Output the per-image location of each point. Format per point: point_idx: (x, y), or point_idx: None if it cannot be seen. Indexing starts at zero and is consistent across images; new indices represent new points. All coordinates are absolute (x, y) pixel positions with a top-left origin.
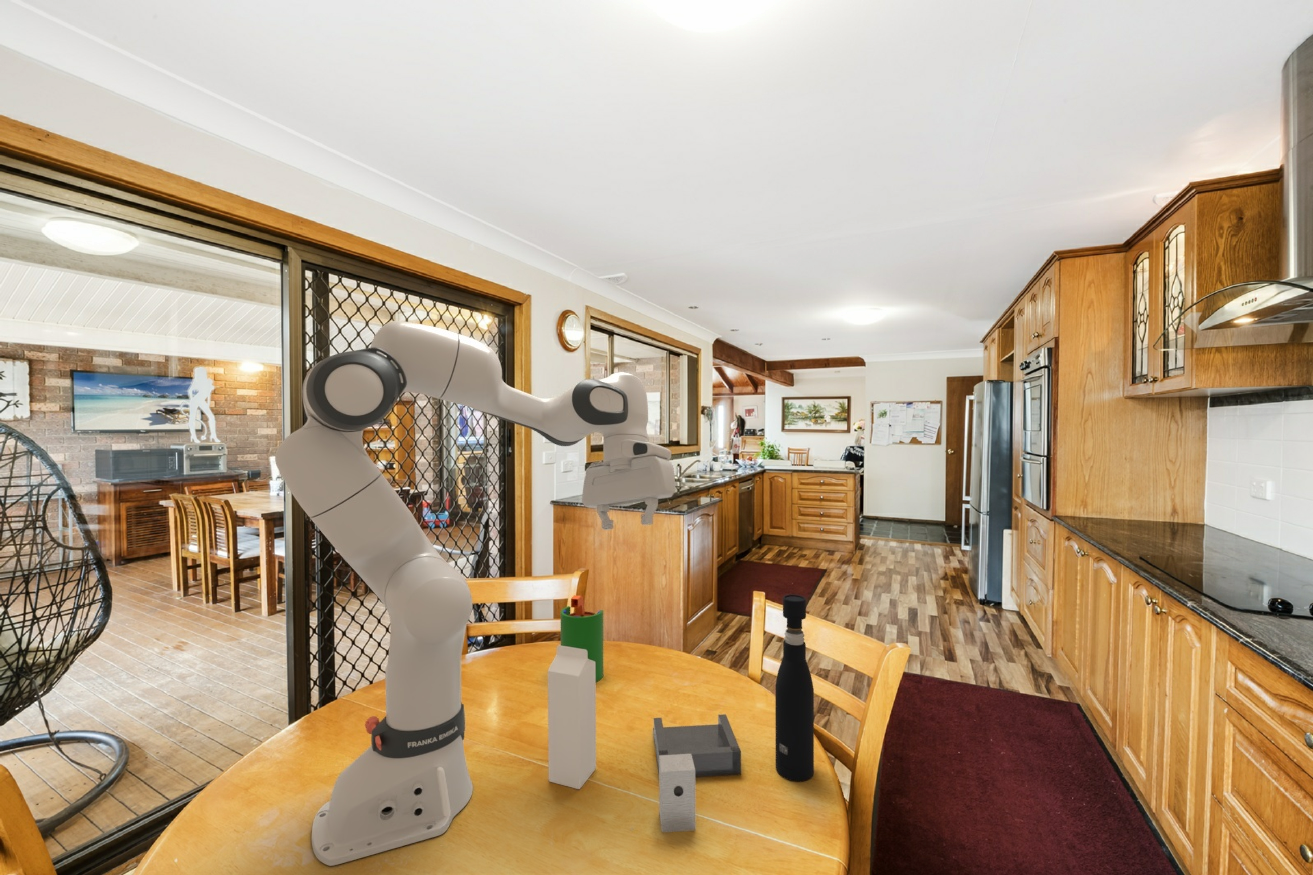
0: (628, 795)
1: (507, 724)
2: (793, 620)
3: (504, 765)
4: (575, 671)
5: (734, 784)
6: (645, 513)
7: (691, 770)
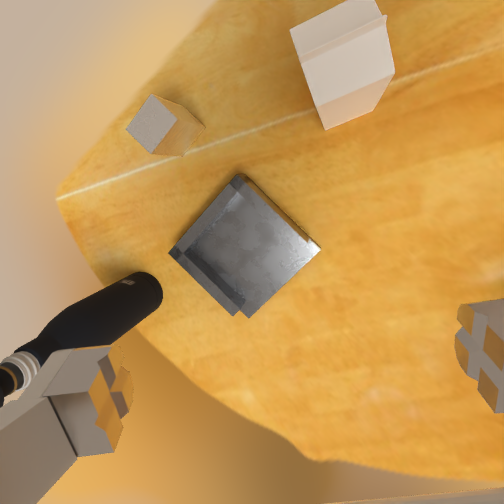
0: (253, 123)
1: None
2: None
3: (447, 31)
4: (304, 29)
5: (175, 227)
6: (32, 400)
7: (128, 125)
